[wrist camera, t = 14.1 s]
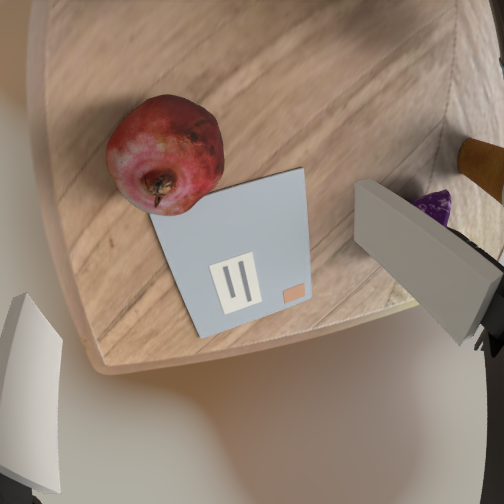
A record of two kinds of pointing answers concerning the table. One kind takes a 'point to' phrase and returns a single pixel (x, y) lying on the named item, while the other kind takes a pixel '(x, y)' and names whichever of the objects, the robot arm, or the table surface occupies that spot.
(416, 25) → the table surface
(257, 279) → the letter
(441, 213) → the decorative mushroom
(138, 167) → the fruit
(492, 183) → the disposable coffee cup
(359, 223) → the robot arm
